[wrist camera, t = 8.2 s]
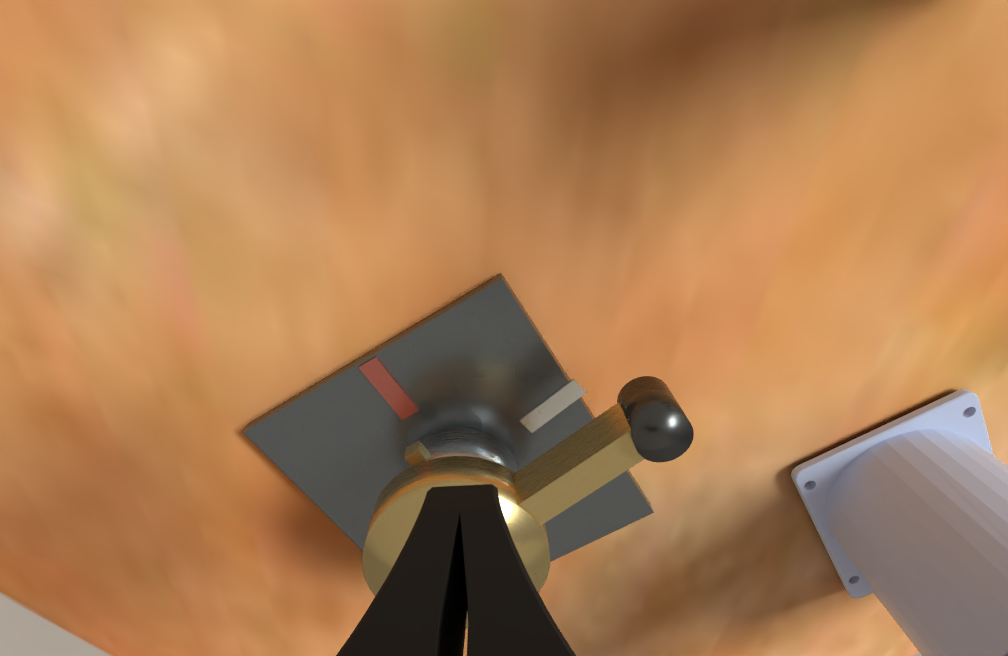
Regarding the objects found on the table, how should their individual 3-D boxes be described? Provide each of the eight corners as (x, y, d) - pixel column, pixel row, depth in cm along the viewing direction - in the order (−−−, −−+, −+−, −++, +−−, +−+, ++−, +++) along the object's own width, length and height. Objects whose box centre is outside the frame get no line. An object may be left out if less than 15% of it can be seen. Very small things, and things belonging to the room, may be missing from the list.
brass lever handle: (451, 608, 22) (448, 668, 20) (335, 518, 20) (317, 574, 18) (713, 443, 19) (744, 491, 17) (612, 317, 17) (633, 353, 15)
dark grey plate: (657, 499, 25) (681, 555, 22) (431, 607, 27) (425, 671, 24) (509, 268, 20) (515, 300, 17) (248, 423, 22) (214, 475, 19)
